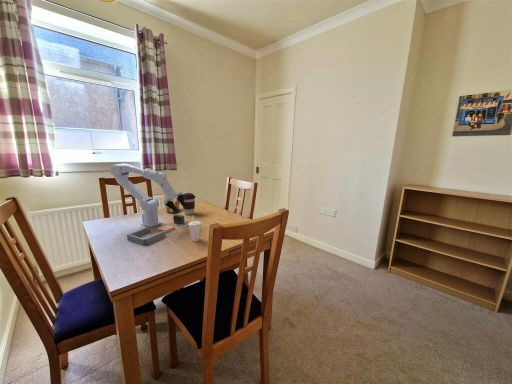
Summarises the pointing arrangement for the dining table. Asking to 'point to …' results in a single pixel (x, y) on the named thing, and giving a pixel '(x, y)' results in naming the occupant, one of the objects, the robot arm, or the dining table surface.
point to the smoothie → (194, 229)
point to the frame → (135, 238)
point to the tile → (165, 228)
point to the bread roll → (175, 206)
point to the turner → (180, 220)
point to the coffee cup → (189, 203)
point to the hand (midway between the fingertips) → (180, 208)
